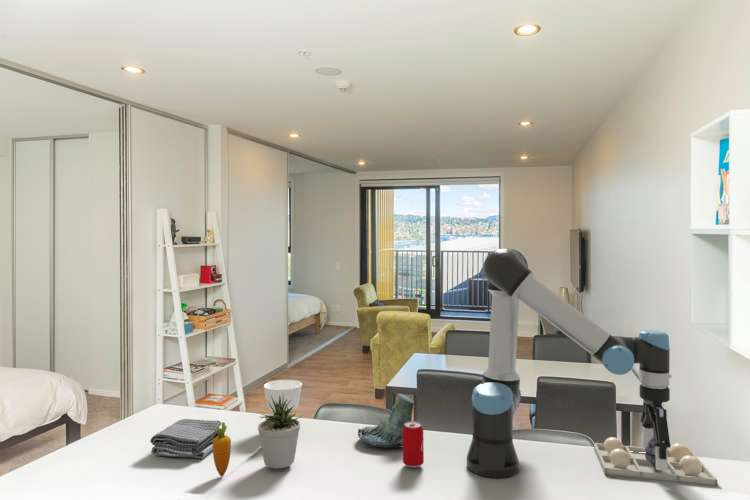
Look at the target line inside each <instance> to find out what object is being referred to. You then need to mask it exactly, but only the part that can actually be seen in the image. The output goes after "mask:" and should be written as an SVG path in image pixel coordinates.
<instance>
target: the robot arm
mask: <svg viewBox="0 0 750 500" xmlns="http://www.w3.org/2000/svg"><path fill="white" fill-rule="evenodd" d="M482 269H483V273H484V276H485V278H486V279H487V291H488V292H489V293H490V294H491V304H490V305H491V307H490V326H489V344H488V345H489V346H488V367H487V368H486V369H485V370H484V371H483V373H482V383H479V384H477V385H476V386H475V387H474V388H473V390H472V394H471V395H472V396H471V404H472V408H471V409H472V410H471V411H472V412H471V413H472V415H471V416H472V417H471V418H472V420H471V421H472V423H471V424H472V428H471V429H472V438H471V443H470V445H469V448H468V451H467V455H466V466H467V468H468V469H469V470H470V471H471V472H473V473H474V474H478V475H481V476H483V477H484V476H485V477H488V478H508V477H512V476H514V475H516V474H517V473H518V472H519V470H520V461H519V457H518V454H517V451H516V448H515V445H514V442H513V441H514V440H513V439H514V438H513V437H514V436H513V427H514V426H513V420H514V419H513V418H514V415H515V413H516V410H517V409H518V408H519V405H520V404H521V401H522V400H521V399H522V393H521V388H520V387H521V383H520V382H521V376H520V375H519V373H517V371H516V368H517V349H518V332H519V317H520V316H519V314H520V301H521V302H522V303H524V304H525V305H526V306H527V307H529V308H530V309H532V310H533V311H534V312H536V314H538V315H539V316H540V317H542V318H543V319H544V320H546V321H547V322H548V323H550V324H551V325H553V326H554V327H555V328H556V329H558V330H559V332H562V333H563V334H564V335H565V336H567V337H568V338H569V339H571V341H573V342H575V343H576V344H577V345H578V346H580V347H581V348H582V349H584V350H585V351H587V352H588V353H589V354H590V355H591V356H593V357H594V358H595V360H597V361H598V362H599V363H601V364H602V365H603V366H604V368H605V369H606V370H607V371H608V372H609V373H611V374H614V375H617V376H621V375H625V374H628V373H630V371H632V369H633V368H634V366H635V365H634V364H639V368H638V369H639V370H638V371H639V372H638V375H639V376H638V380H639V397H640V399H642V400H643V401H642V402H643V403H642V409H641V416H640V422H641V425H642V447H643V450H645V447H646V446H647V445H648V444H647V443H648V440H649V439H650V438H653V437H655V438H656V442H657V443H655V444H654V446H656V470H664V471H668V450H669V449H670V447H671V446H672V445H671V441H670V433H669V426H668V417H667V415H668V413H667V409H666V408H665V409H664V407H663V403H667V402H669V401H670V398H671V397H670V393H671V392H670V390H671V389H670V388H669V386H670V379H671V378H672V375H671V374H670V357H671V356H670V354H671V351H670V350H671V348H670V338H669V337H670V336H669V334H667V332H665V331H659V330H653V329H652V330H648V329H647V330H646V329H645V330H644V329H643V330H641V331H639V334H638V336H621V335H620V336H619V335H611V334H610V333H608V331H606V330H605V329H603V327H601V326H600V325H598V324H597V323H595V322H594V321H593V320H591V319H590V318H589V317H587V316H586V315H584V314H583V313H582V312H581V311H579V310H578V309H576V307H574V306H573V305H571V304H570V303H569V302H567V301H566V300H565V299H564V298H562V297H560V296H559V295H558V294H557V293H556V292H554V291H552V290H551V289H550V288H548V287H547V285H545V284H544V283H542V282H541V281H540V280H538V279H537V278H535V276H534V272H533V271H532V270H531V269H529V264H528V261H527V258H526V257H525V256H524V254H522V252H520V251H519V250H517V249H514V248H499V249H495V250H493V251H492V252H490V253H489V254H488V255H487V256H486V257H485V259H484V263H483V267H482ZM668 448H669V449H668Z"/></svg>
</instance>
